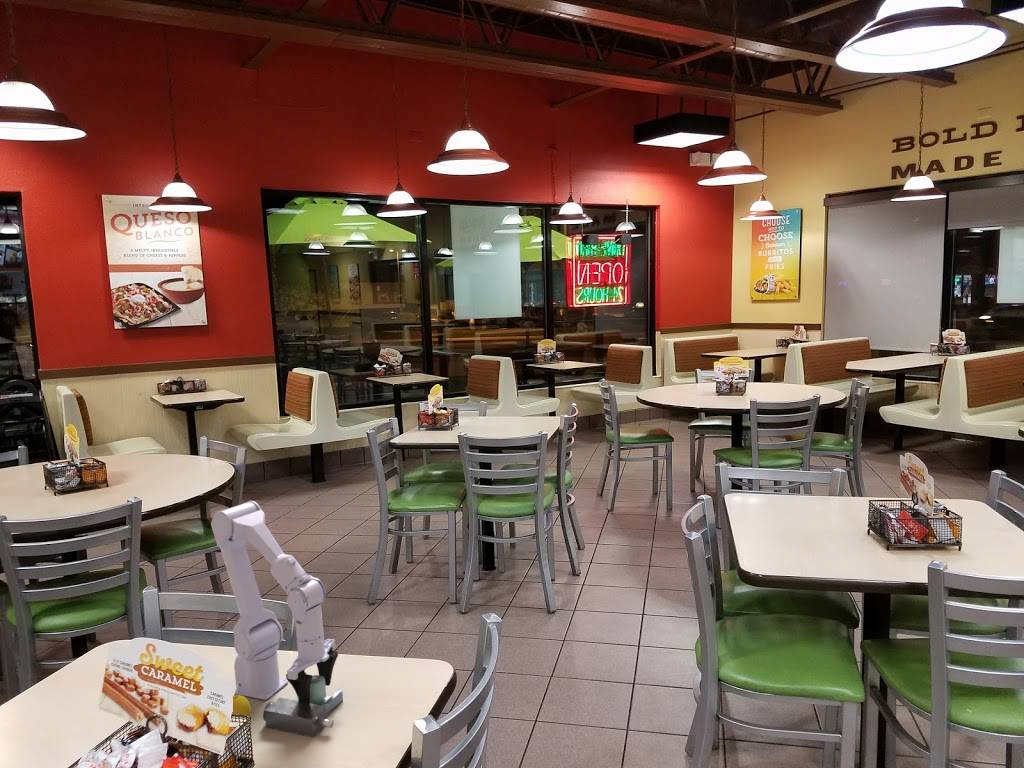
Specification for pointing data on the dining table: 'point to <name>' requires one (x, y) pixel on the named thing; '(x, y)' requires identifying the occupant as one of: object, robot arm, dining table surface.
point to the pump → (317, 690)
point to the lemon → (241, 706)
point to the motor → (300, 715)
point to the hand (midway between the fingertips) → (315, 693)
